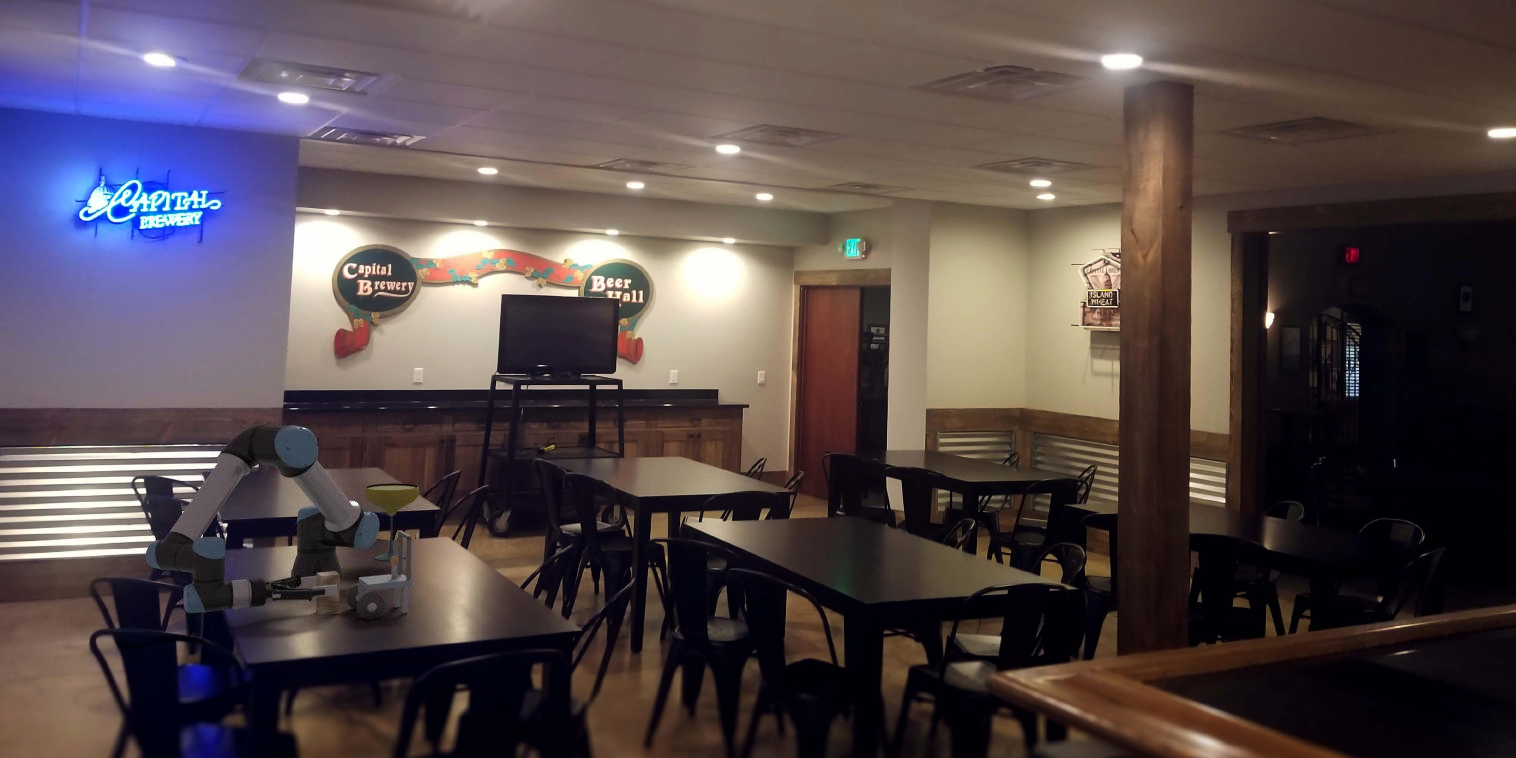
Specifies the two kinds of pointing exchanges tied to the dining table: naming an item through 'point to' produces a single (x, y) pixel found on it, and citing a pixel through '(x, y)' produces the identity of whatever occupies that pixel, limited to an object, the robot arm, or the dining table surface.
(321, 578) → the block
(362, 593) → the trolley
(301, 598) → the robot arm
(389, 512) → the cocktail glass
